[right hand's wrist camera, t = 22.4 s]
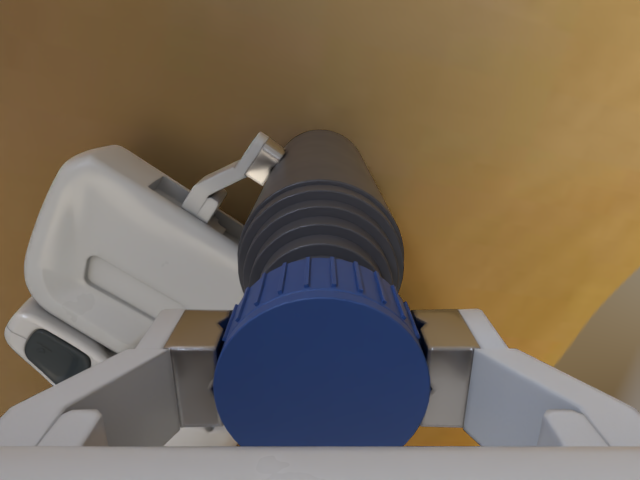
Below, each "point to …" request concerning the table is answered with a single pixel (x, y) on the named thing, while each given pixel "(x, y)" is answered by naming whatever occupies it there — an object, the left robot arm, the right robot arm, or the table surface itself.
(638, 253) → the table surface
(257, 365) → the cap
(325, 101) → the table surface
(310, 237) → the bottle
